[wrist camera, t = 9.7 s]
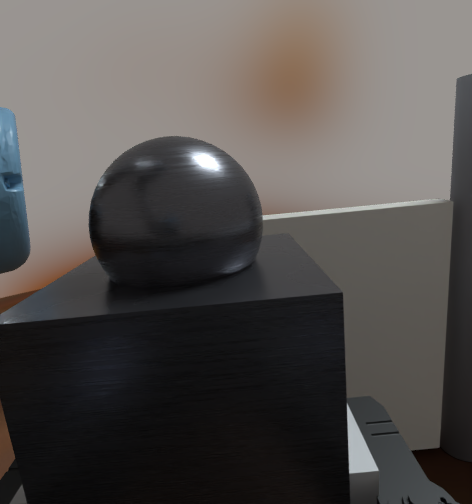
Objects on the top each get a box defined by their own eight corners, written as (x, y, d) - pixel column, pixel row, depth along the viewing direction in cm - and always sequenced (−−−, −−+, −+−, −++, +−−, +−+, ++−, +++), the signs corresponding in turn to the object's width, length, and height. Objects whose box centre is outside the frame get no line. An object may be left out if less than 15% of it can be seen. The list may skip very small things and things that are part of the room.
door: (415, 414, 24) (423, 195, 20) (439, 447, 21) (453, 201, 18) (154, 439, 24) (115, 224, 20) (144, 475, 21) (98, 235, 18)
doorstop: (33, 1020, 8) (-309, 139, 4) (137, 572, 17) (59, 161, 13) (458, 985, 8) (513, 59, 4) (338, 555, 17) (319, 136, 13)
